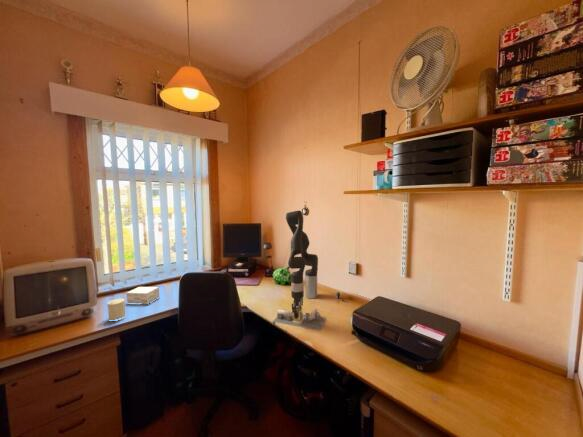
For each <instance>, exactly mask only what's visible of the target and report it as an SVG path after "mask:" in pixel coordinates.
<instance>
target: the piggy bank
mask: <svg viewBox="0 0 583 437" xmlns="http://www.w3.org/2000/svg"><path fill="white" fill-rule="evenodd" d="M290 269H291V268H290V267H289V265H288V266H287V267H281V268H280V267H279V268H276V269H275V270H274V271H273V273H272V277H273V280H274V284H276V285H281V286H284V285H286V284H289V283H292V276H291V275H292V273H291V271H290Z"/></svg>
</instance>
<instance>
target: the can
mask: <svg viewBox="0 0 583 437" xmlns="http://www.w3.org/2000/svg"><path fill="white" fill-rule="evenodd" d="M125 301H126V299H124V298H116V299H112V300H109V301H108V302H107V313H108V314H107V315H108V321H109V320H115V319H119V318H122V317H124V316H125V315H126V302H125ZM126 316H127V315H126Z"/></svg>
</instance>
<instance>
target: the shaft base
mask: <svg viewBox="0 0 583 437" xmlns="http://www.w3.org/2000/svg"><path fill="white" fill-rule="evenodd" d="M327 319H328V318H327V317H326V318H325V317H321V313H320V312H319V311H318V309H317V308H313V309H312V310H311V312H305V314H303V319H302V320H301V322H295V321H293V313H292V310H291V311H290V310H286V309H285V310H284V309H277V314H276V317H275V318H274V320H273V321H272V324H274V325H275V324H276V323H277V324H278V323H279V324H283V325H289V326H294V327H297V328H298V327H300V328H304V329H305V328H306V329H310V330H315V331H318V332H319V331H320V332H321V331H322V328H323V326H324V325H325V323H326V321H327ZM277 324H276V325H277Z"/></svg>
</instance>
